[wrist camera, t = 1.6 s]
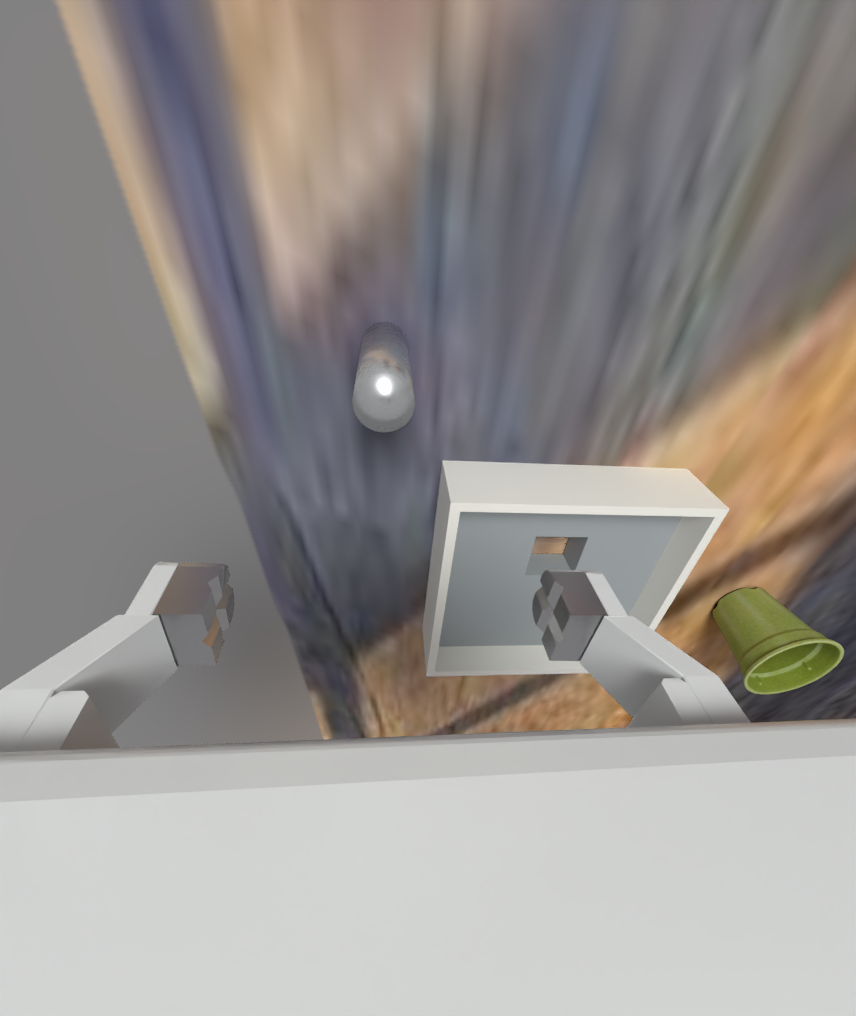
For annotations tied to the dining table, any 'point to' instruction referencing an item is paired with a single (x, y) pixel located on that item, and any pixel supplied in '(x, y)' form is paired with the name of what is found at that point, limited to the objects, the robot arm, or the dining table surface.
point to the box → (591, 546)
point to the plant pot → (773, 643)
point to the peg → (384, 379)
